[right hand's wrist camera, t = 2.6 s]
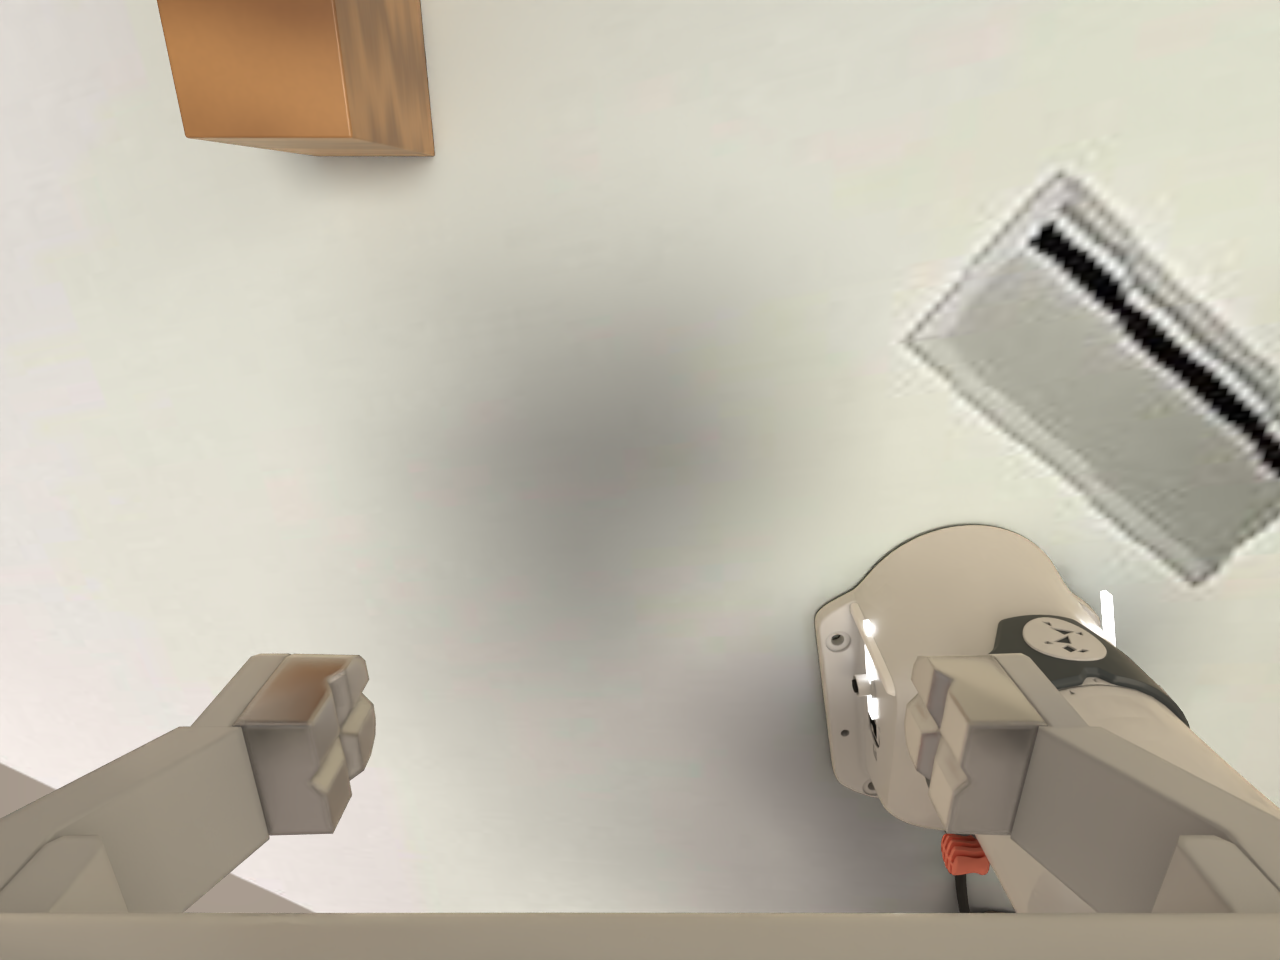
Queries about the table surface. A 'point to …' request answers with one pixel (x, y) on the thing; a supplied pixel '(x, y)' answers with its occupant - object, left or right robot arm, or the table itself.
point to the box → (302, 74)
